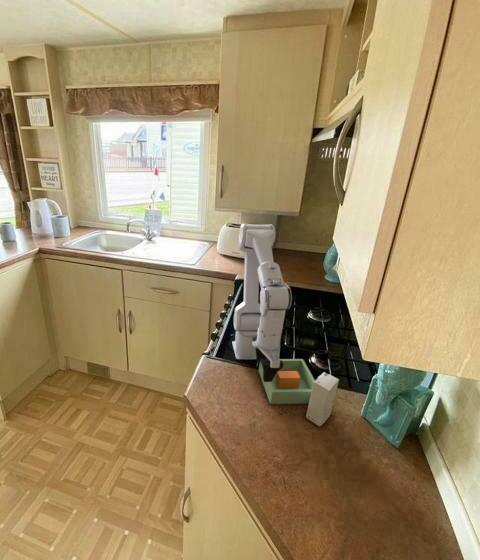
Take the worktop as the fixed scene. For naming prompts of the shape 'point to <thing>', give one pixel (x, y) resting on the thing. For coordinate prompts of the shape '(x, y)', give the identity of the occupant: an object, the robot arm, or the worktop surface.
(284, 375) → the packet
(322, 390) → the cosmetic box
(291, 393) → the tray
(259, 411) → the worktop surface
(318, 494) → the worktop surface
